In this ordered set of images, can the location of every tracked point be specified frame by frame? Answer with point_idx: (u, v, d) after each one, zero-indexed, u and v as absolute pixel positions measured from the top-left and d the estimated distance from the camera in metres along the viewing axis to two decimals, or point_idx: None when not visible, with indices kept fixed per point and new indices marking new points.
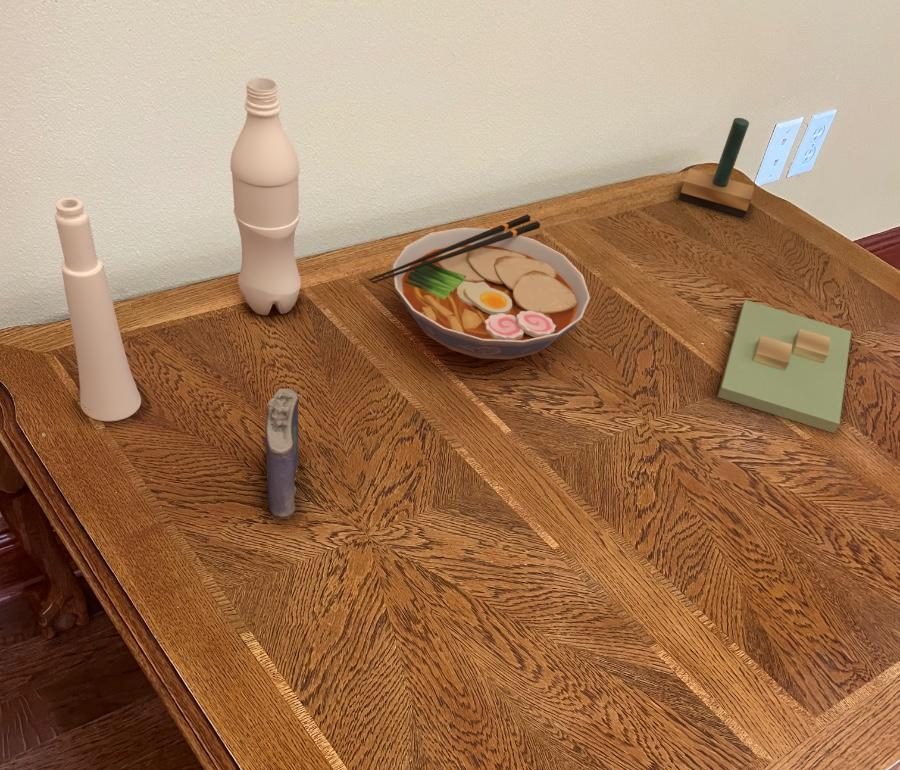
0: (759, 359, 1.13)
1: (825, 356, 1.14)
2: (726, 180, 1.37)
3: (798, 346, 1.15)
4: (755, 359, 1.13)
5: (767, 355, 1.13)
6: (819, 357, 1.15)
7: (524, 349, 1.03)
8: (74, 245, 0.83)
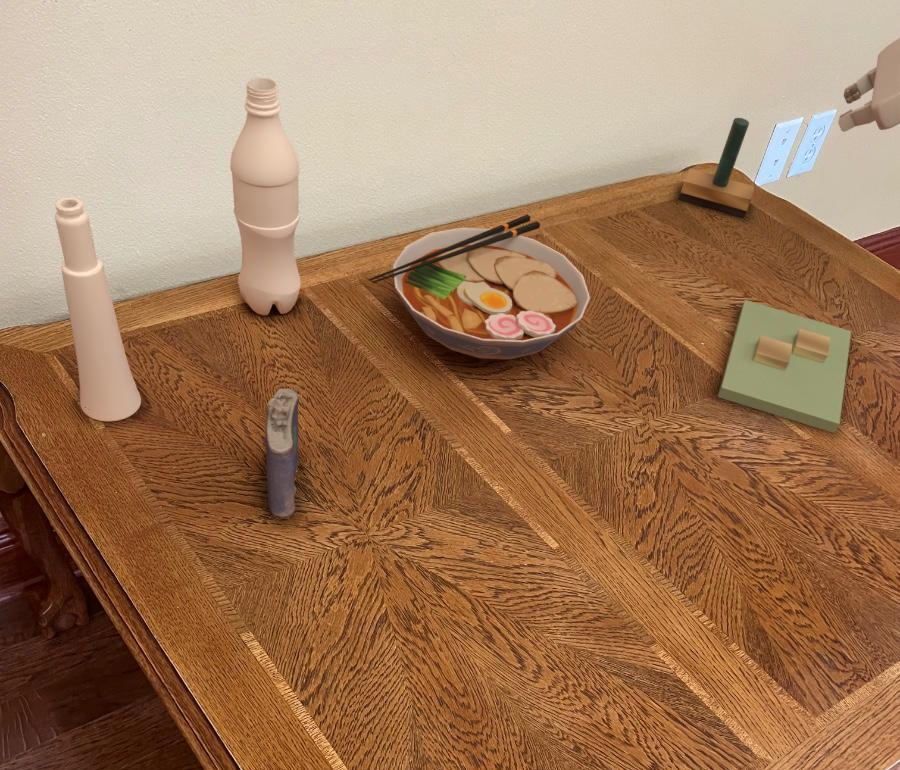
0: (759, 359, 1.13)
1: (825, 356, 1.14)
2: (726, 180, 1.37)
3: (798, 346, 1.15)
4: (755, 359, 1.13)
5: (767, 355, 1.13)
6: (819, 357, 1.15)
7: (524, 349, 1.03)
8: (73, 245, 0.83)
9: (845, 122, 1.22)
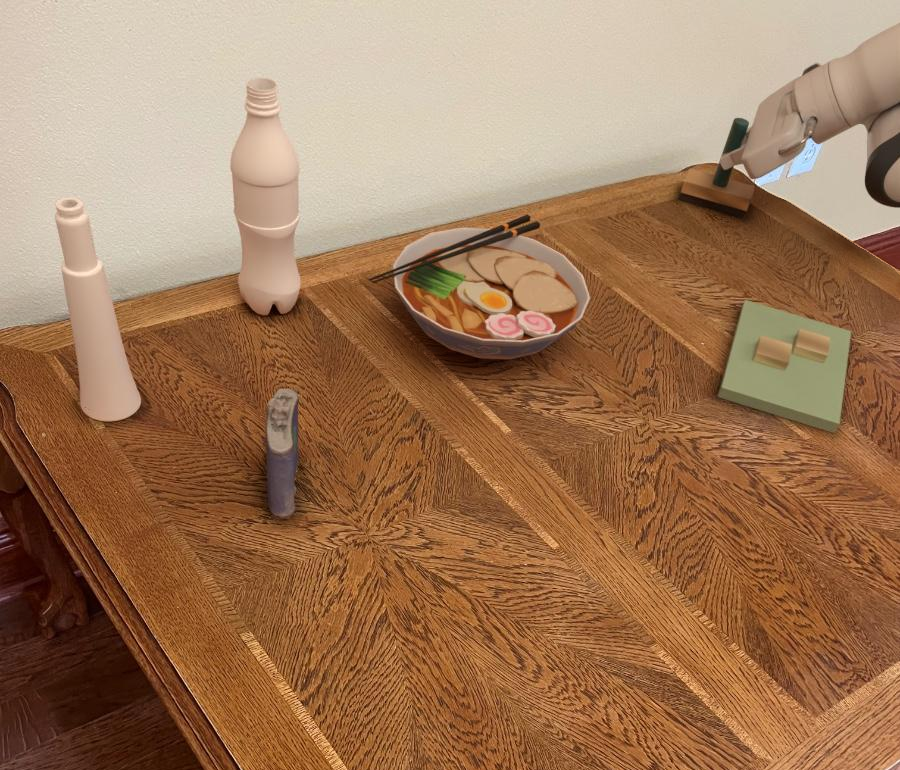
0: (759, 359, 1.13)
1: (825, 356, 1.14)
2: (726, 180, 1.37)
3: (798, 346, 1.15)
4: (755, 359, 1.13)
5: (767, 355, 1.13)
6: (819, 357, 1.15)
7: (524, 349, 1.03)
8: (73, 245, 0.83)
9: (726, 161, 1.33)
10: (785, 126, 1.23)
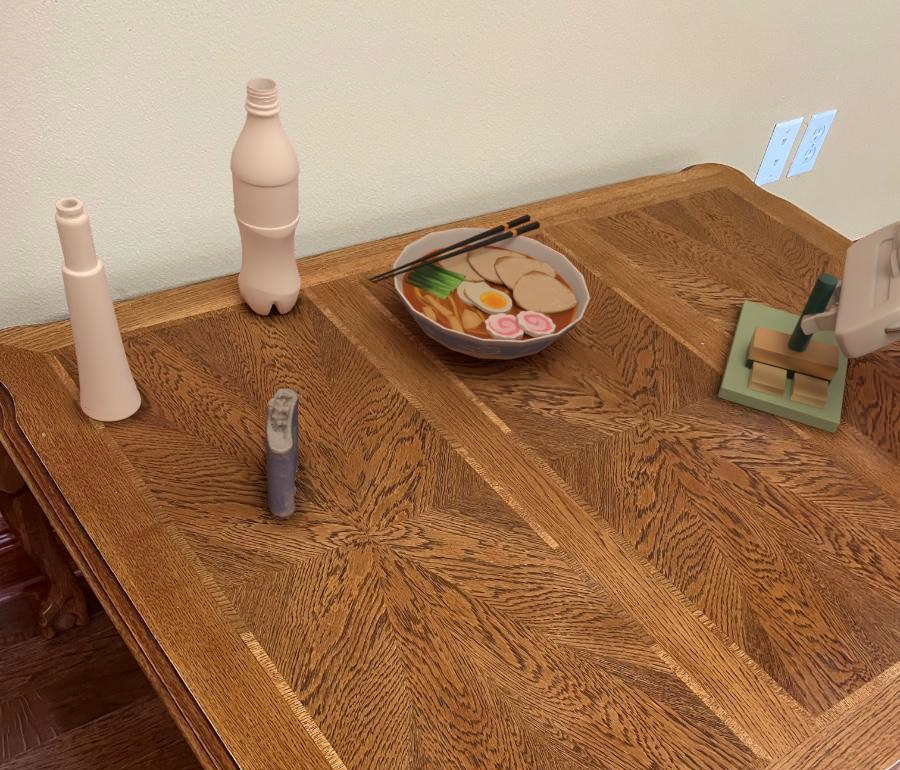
0: (754, 387, 1.09)
1: (824, 402, 1.08)
2: (806, 344, 1.09)
3: (796, 393, 1.09)
4: (750, 387, 1.10)
5: (762, 382, 1.09)
6: (818, 403, 1.09)
7: (524, 349, 1.03)
8: (73, 245, 0.83)
9: (808, 325, 1.06)
10: (893, 297, 0.96)
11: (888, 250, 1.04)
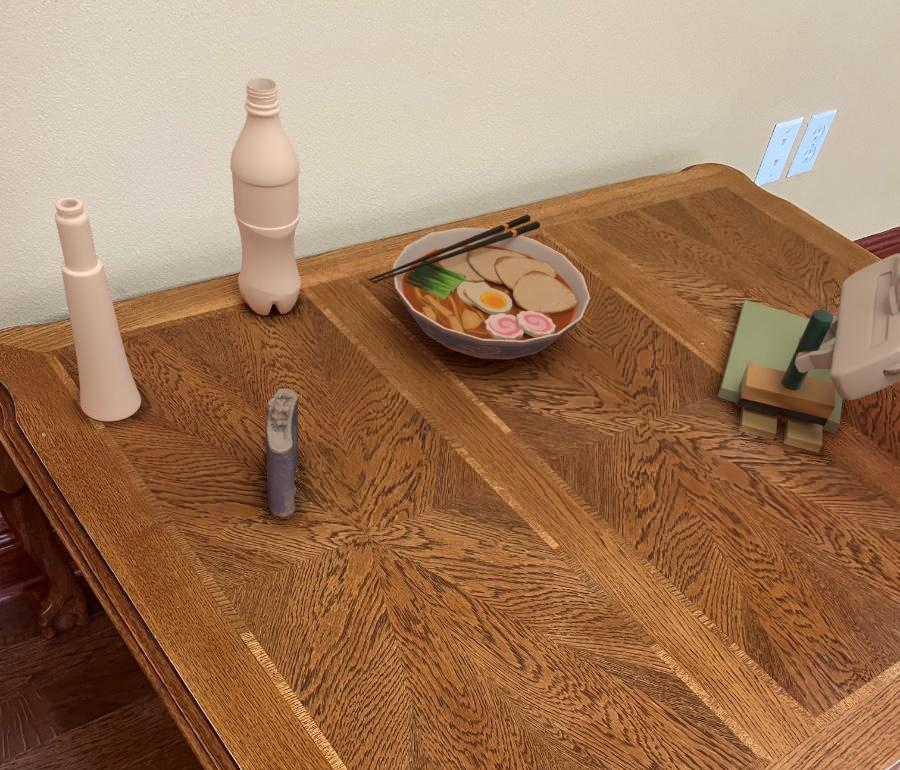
0: (745, 430, 1.07)
1: (819, 446, 1.06)
2: (801, 382, 1.05)
3: (790, 437, 1.06)
4: (741, 430, 1.07)
5: (753, 426, 1.07)
6: (813, 447, 1.06)
7: (524, 349, 1.03)
8: (73, 245, 0.83)
9: (803, 363, 1.01)
10: (892, 336, 0.91)
11: (886, 285, 0.99)
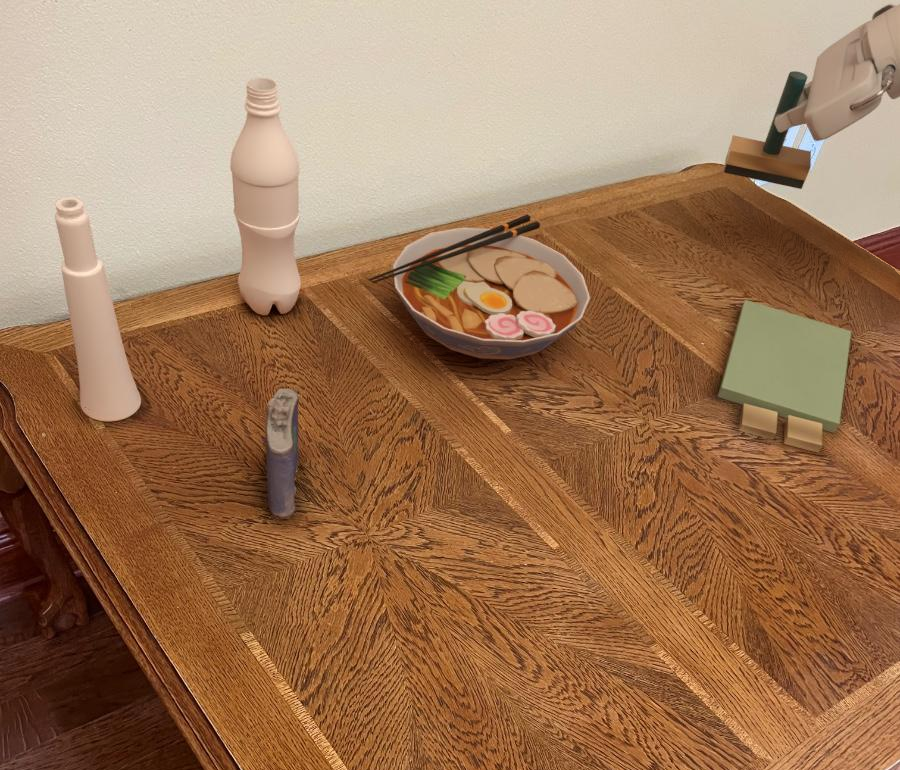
0: (745, 430, 1.07)
1: (819, 446, 1.06)
2: (780, 146, 1.17)
3: (790, 437, 1.06)
4: (741, 430, 1.07)
5: (753, 426, 1.07)
6: (813, 447, 1.06)
7: (524, 349, 1.03)
8: (73, 245, 0.83)
9: (781, 122, 1.13)
10: (857, 76, 1.04)
11: (855, 48, 1.12)
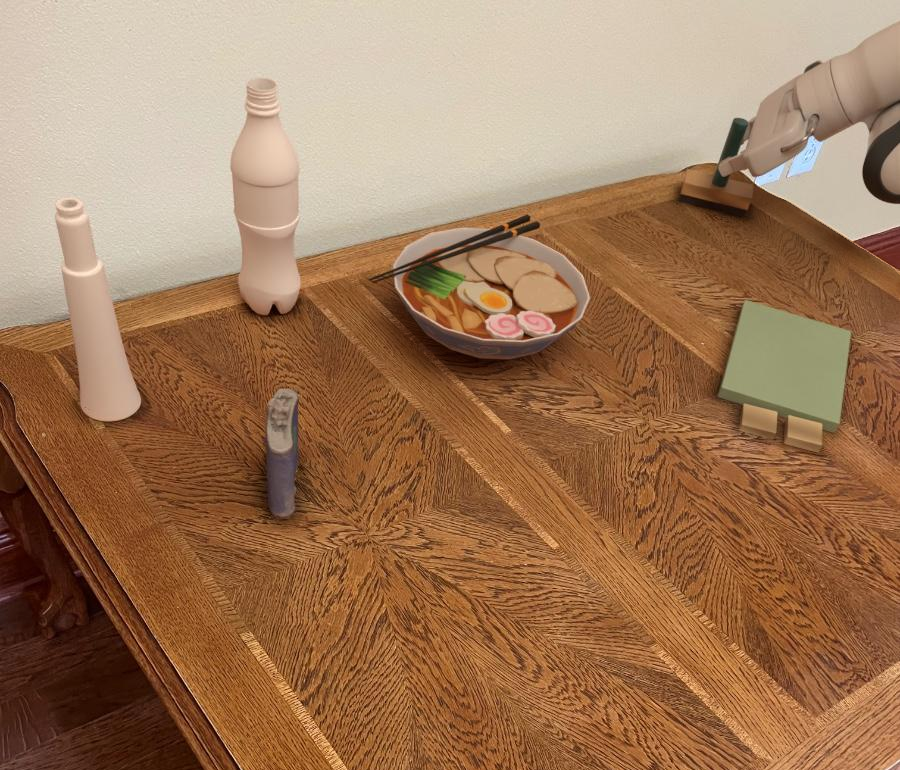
0: (745, 430, 1.07)
1: (819, 446, 1.06)
2: (726, 180, 1.37)
3: (790, 437, 1.06)
4: (740, 430, 1.07)
5: (753, 426, 1.07)
6: (813, 447, 1.06)
7: (524, 349, 1.03)
8: (73, 245, 0.83)
9: (724, 168, 1.31)
10: (787, 124, 1.23)
11: None
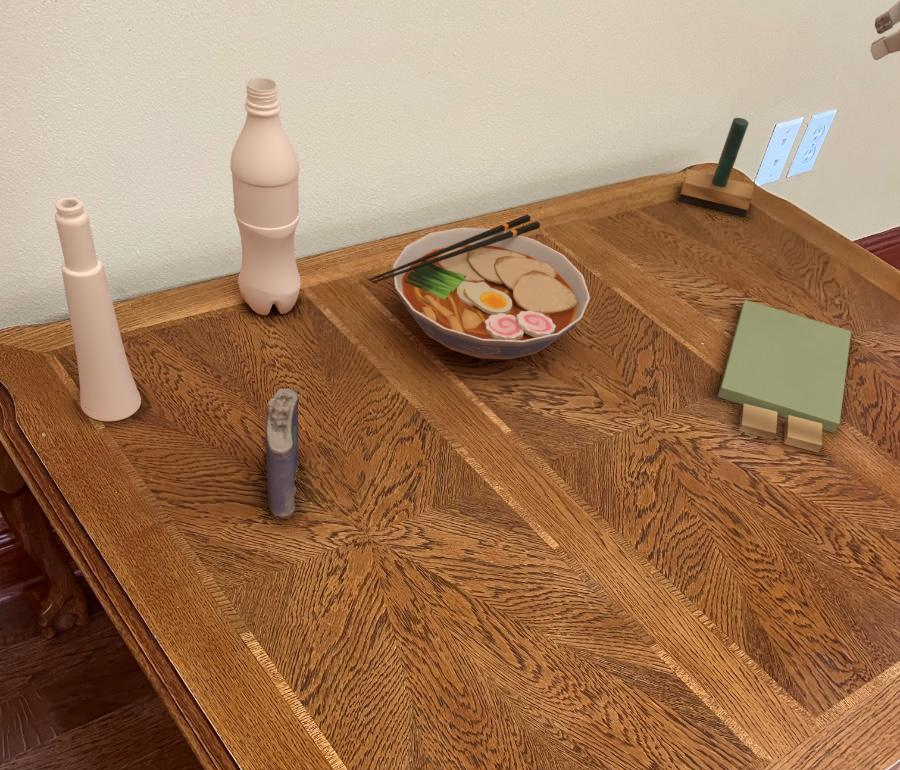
0: (745, 430, 1.07)
1: (819, 446, 1.06)
2: (726, 180, 1.37)
3: (790, 437, 1.06)
4: (741, 430, 1.07)
5: (753, 426, 1.07)
6: (813, 447, 1.06)
7: (524, 349, 1.03)
8: (73, 245, 0.83)
9: (878, 49, 1.15)
10: None
11: None
